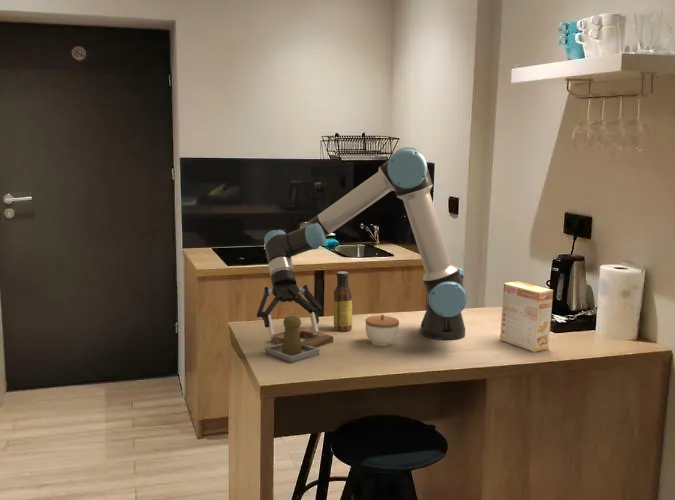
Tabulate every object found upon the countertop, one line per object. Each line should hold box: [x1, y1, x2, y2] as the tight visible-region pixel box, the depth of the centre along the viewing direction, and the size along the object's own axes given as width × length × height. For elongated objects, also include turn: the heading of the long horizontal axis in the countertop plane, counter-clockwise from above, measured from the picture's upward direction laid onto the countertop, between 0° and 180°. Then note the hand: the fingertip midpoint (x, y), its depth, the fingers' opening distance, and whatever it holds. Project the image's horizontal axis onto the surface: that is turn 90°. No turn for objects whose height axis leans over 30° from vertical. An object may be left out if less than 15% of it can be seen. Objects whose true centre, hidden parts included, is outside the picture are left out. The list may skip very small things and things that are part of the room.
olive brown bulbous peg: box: [282, 315, 302, 355], centre depth 213 cm, size 6×6×11 cm
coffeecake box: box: [499, 281, 554, 353], centre depth 229 cm, size 15×7×20 cm, turn 33°
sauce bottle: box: [333, 270, 353, 332], centre depth 240 cm, size 6×6×20 cm
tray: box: [264, 343, 320, 364], centre depth 214 cm, size 12×12×2 cm
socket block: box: [270, 326, 334, 350], centre depth 226 cm, size 14×14×2 cm
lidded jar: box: [365, 314, 400, 347], centre depth 227 cm, size 11×11×9 cm
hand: (294, 334), depth 211 cm, fingers open, 13 cm apart
